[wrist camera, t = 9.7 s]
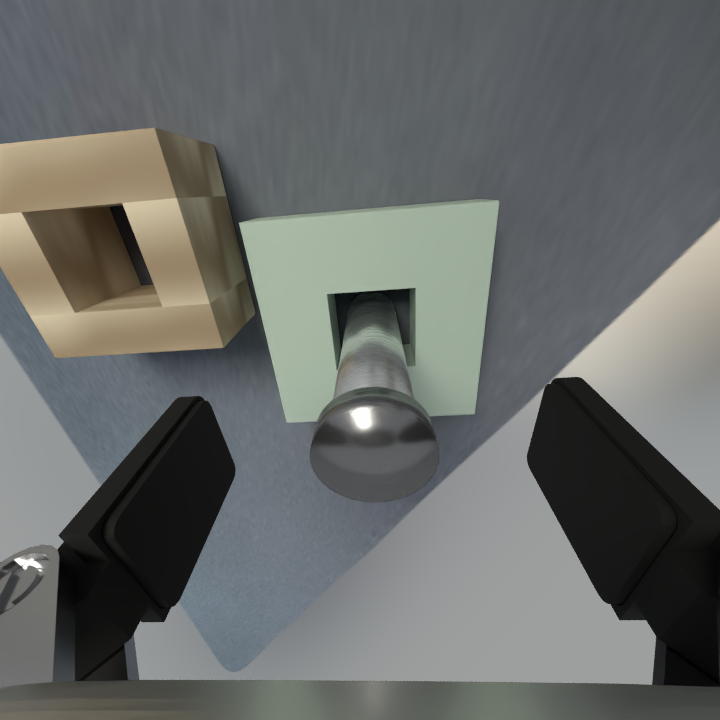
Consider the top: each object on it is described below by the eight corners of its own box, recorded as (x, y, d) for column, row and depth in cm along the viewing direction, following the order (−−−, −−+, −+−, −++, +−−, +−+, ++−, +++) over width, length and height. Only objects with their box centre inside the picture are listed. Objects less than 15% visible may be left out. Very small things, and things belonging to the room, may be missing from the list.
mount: (47, 161, 17) (-70, 151, 12) (213, 144, 16) (154, 127, 12) (122, 322, 21) (55, 357, 16) (255, 313, 20) (223, 347, 16)
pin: (338, 287, 19) (299, 411, 9) (401, 282, 19) (442, 404, 8) (345, 343, 21) (319, 503, 10) (402, 339, 21) (436, 500, 10)
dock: (258, 218, 18) (238, 222, 15) (479, 198, 17) (499, 200, 14) (296, 396, 23) (286, 422, 21) (462, 387, 22) (474, 414, 20)
